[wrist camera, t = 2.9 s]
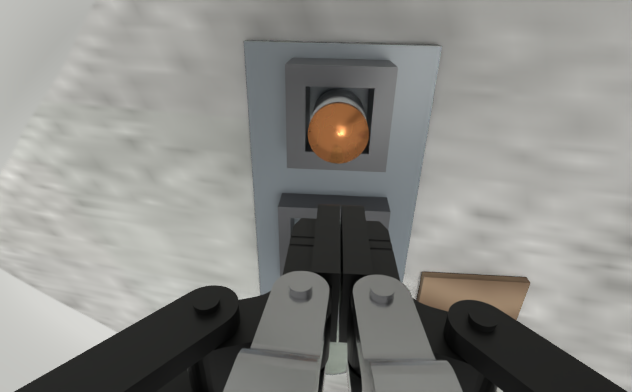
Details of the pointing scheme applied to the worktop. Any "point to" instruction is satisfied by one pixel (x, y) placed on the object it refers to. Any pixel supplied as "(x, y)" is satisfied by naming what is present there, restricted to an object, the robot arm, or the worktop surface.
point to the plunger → (338, 127)
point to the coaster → (473, 290)
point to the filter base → (317, 174)
